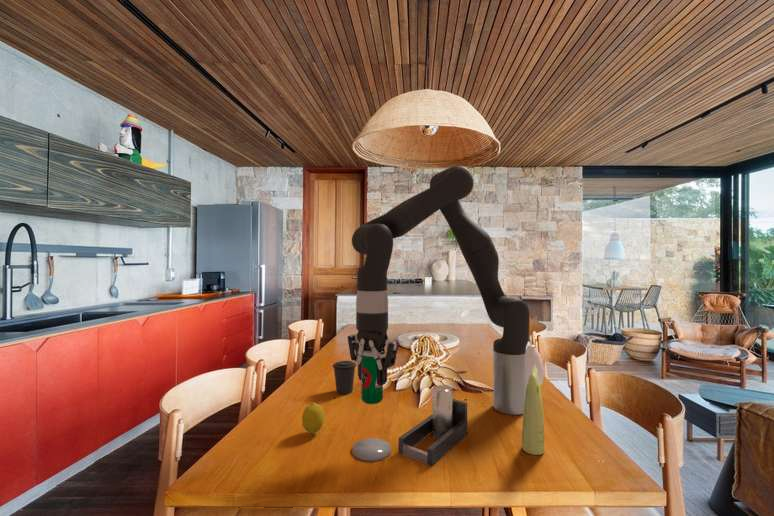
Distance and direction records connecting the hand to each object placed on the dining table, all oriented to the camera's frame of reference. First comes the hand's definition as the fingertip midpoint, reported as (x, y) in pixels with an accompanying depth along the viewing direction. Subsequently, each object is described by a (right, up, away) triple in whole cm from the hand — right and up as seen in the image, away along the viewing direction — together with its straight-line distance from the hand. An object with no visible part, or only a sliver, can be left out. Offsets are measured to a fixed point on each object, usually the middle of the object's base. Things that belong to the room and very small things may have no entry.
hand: (372, 381), depth 83 cm
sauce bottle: (+53, -17, +39) cm, 68 cm away
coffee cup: (-11, -17, +37) cm, 42 cm away
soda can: (0, -5, 0) cm, 5 cm away
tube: (+38, -16, 0) cm, 41 cm away
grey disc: (0, -16, 0) cm, 16 cm away
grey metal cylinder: (+17, -16, +7) cm, 25 cm away
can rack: (+15, -16, +3) cm, 22 cm away
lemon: (-16, -16, +8) cm, 24 cm away
